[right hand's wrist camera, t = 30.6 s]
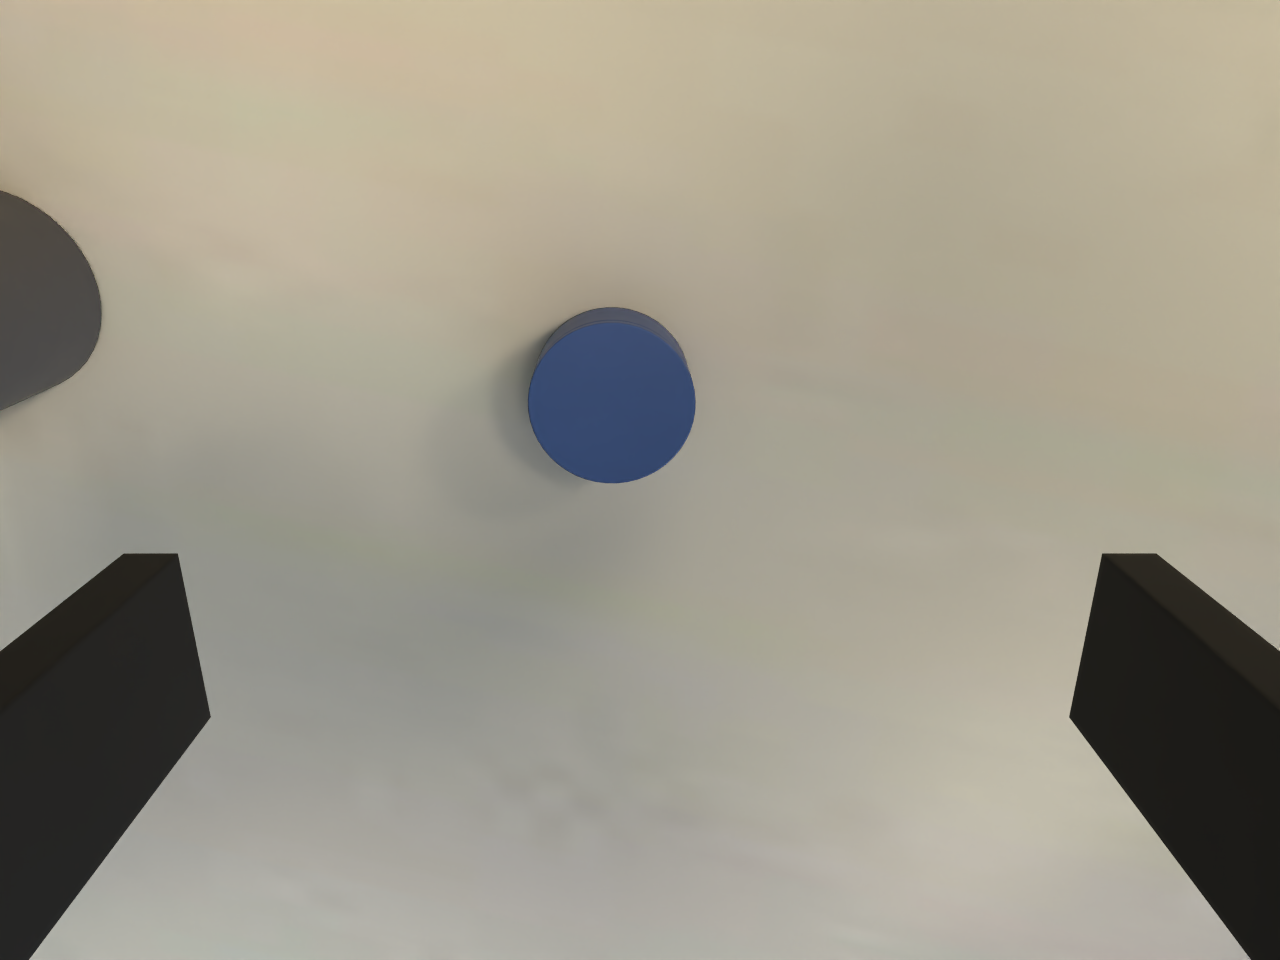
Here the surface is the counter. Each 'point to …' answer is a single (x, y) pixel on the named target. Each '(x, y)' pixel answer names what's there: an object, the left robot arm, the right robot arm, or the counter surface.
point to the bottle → (41, 303)
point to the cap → (611, 396)
